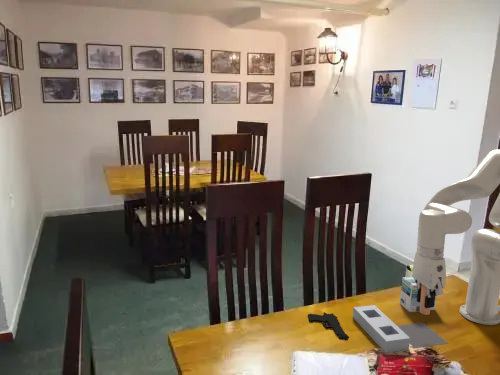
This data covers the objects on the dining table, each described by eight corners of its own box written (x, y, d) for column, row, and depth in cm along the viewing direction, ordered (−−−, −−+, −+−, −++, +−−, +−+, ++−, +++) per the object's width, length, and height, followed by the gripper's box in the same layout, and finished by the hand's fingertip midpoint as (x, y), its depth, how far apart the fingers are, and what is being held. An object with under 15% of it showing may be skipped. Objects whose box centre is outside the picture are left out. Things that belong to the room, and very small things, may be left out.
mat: (422, 323, 133) (423, 322, 133) (448, 344, 121) (448, 343, 121) (391, 327, 130) (391, 326, 130) (414, 349, 118) (414, 348, 118)
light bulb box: (409, 313, 139) (412, 285, 137) (398, 303, 145) (401, 277, 143) (435, 310, 141) (439, 282, 139) (424, 301, 148) (427, 274, 145)
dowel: (425, 309, 126) (428, 280, 124) (431, 313, 123) (434, 285, 121) (417, 310, 126) (419, 282, 123) (423, 315, 123) (426, 286, 120)
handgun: (306, 312, 137) (333, 311, 138) (306, 316, 137) (333, 314, 138) (319, 339, 121) (350, 337, 123) (318, 342, 122) (349, 340, 123)
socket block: (373, 315, 137) (374, 305, 136) (408, 349, 118) (410, 338, 117) (352, 317, 135) (353, 307, 134) (385, 353, 116) (386, 341, 115)
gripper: (460, 259, 113) (454, 316, 117) (423, 239, 128) (419, 290, 132) (437, 262, 111) (432, 320, 115) (403, 242, 126) (399, 293, 131)
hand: (425, 303), depth 124 cm, fingers closed on dowel, 3 cm apart
